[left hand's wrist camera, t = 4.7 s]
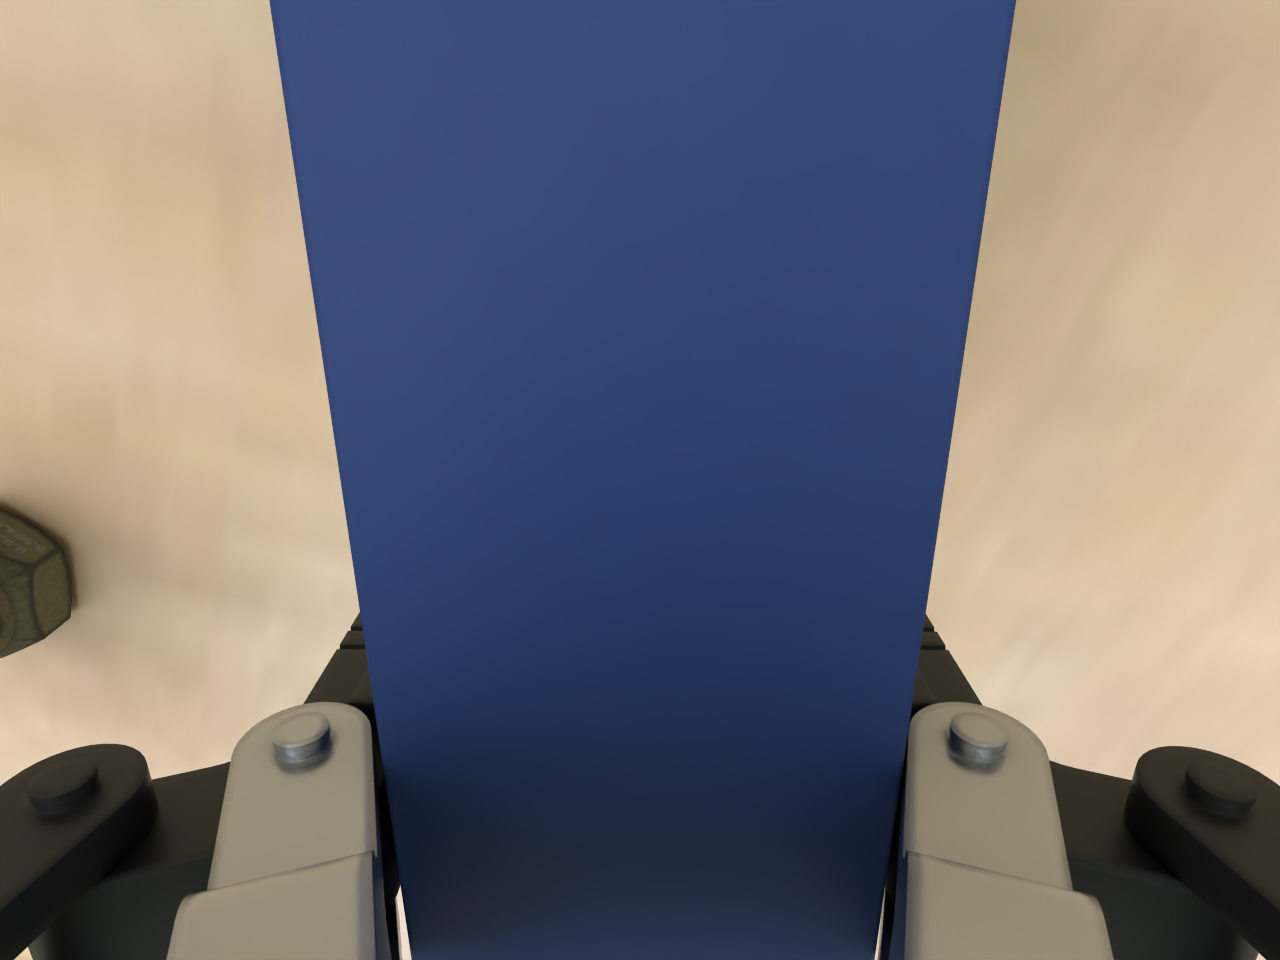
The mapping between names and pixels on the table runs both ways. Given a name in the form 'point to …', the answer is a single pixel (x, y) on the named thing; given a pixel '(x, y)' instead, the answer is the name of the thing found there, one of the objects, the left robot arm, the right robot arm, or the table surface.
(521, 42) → the bar
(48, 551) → the grenade
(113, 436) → the table surface
